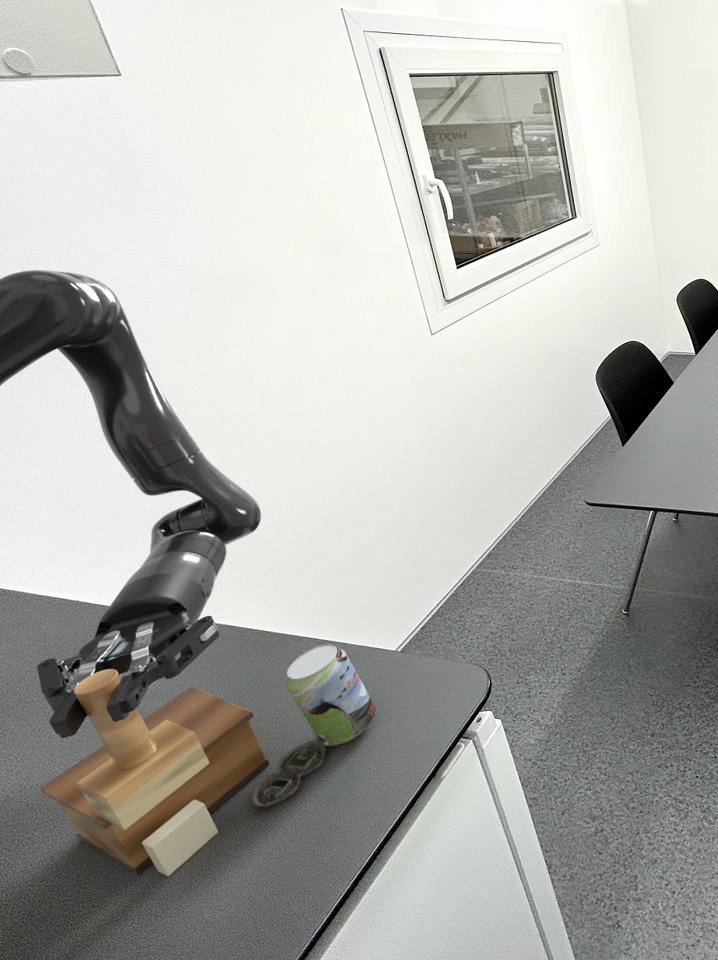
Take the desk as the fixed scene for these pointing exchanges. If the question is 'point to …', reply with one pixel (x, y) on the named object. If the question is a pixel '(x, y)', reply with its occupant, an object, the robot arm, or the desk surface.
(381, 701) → the desk surface
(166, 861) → the cream soap bar
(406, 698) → the desk surface
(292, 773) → the corroded twin loop
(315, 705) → the beverage can
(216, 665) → the desk surface
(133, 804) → the wooden stamp
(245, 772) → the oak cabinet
